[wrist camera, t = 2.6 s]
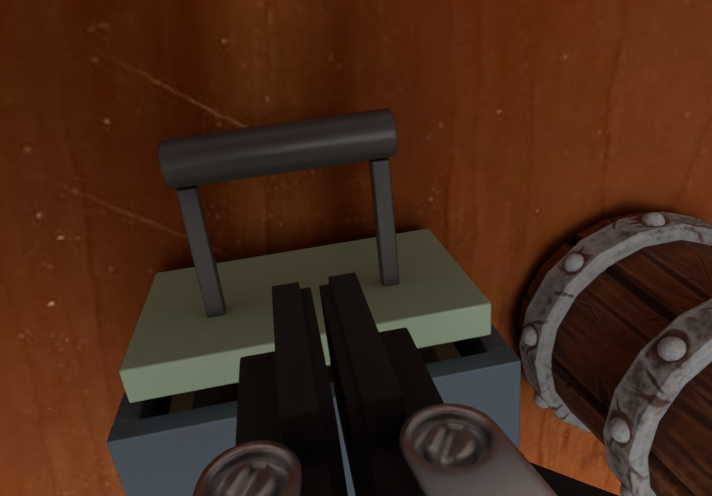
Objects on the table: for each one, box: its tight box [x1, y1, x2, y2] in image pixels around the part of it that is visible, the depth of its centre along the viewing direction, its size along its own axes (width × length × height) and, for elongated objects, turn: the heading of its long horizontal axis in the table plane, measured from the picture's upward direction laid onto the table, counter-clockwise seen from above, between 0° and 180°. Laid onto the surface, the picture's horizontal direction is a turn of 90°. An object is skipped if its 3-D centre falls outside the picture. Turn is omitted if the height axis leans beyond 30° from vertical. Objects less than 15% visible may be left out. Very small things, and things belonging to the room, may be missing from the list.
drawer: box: [119, 108, 491, 414], centre depth 21 cm, size 19×11×7 cm, turn 6°
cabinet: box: [107, 324, 521, 496], centre depth 23 cm, size 15×13×9 cm
